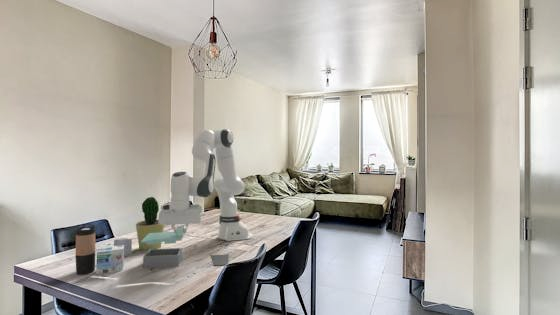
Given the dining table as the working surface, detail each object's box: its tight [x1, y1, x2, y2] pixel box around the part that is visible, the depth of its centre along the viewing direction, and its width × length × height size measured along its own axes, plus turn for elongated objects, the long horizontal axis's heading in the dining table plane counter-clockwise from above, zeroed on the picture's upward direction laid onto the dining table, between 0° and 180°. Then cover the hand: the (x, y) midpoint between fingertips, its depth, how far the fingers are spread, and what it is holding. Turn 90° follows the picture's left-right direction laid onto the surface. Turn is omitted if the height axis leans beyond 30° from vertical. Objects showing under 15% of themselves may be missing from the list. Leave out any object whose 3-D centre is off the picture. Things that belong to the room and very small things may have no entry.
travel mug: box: [75, 226, 96, 276], centre depth 138 cm, size 8×8×20 cm
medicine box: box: [113, 237, 133, 258], centre depth 160 cm, size 8×4×9 cm, turn 71°
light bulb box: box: [95, 245, 125, 275], centre depth 139 cm, size 11×7×11 cm, turn 114°
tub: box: [142, 247, 183, 269], centre depth 148 cm, size 16×11×6 cm
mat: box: [210, 253, 230, 267], centre depth 154 cm, size 19×15×1 cm
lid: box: [141, 225, 186, 245], centre depth 148 cm, size 18×14×6 cm
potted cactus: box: [135, 196, 165, 251], centre depth 173 cm, size 15×15×30 cm
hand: (180, 232), depth 149 cm, fingers closed on lid, 3 cm apart
